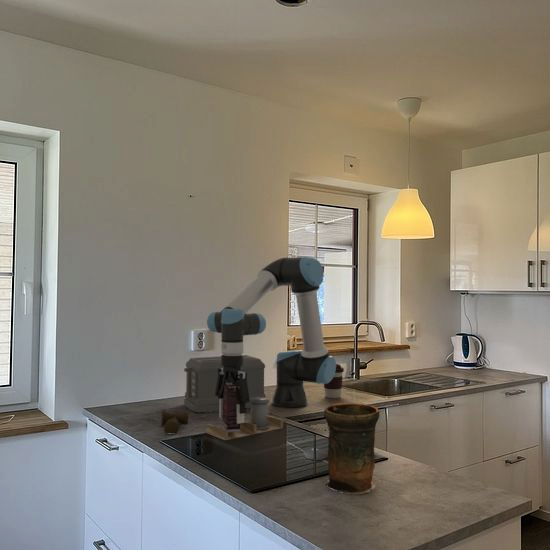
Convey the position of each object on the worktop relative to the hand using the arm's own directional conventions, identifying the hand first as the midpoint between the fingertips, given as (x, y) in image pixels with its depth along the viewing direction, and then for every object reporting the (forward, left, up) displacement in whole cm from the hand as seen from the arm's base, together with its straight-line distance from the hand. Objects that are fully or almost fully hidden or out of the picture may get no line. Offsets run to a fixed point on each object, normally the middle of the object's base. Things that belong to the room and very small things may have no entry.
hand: (231, 420), depth 191 cm
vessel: (+4, +58, -6) cm, 58 cm away
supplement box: (0, 0, -3) cm, 3 cm away
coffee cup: (-76, -25, -6) cm, 81 cm away
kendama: (+9, -23, -6) cm, 25 cm away
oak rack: (-6, 0, -5) cm, 8 cm away
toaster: (-26, -41, -6) cm, 49 cm away
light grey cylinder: (-12, 0, -4) cm, 13 cm away
